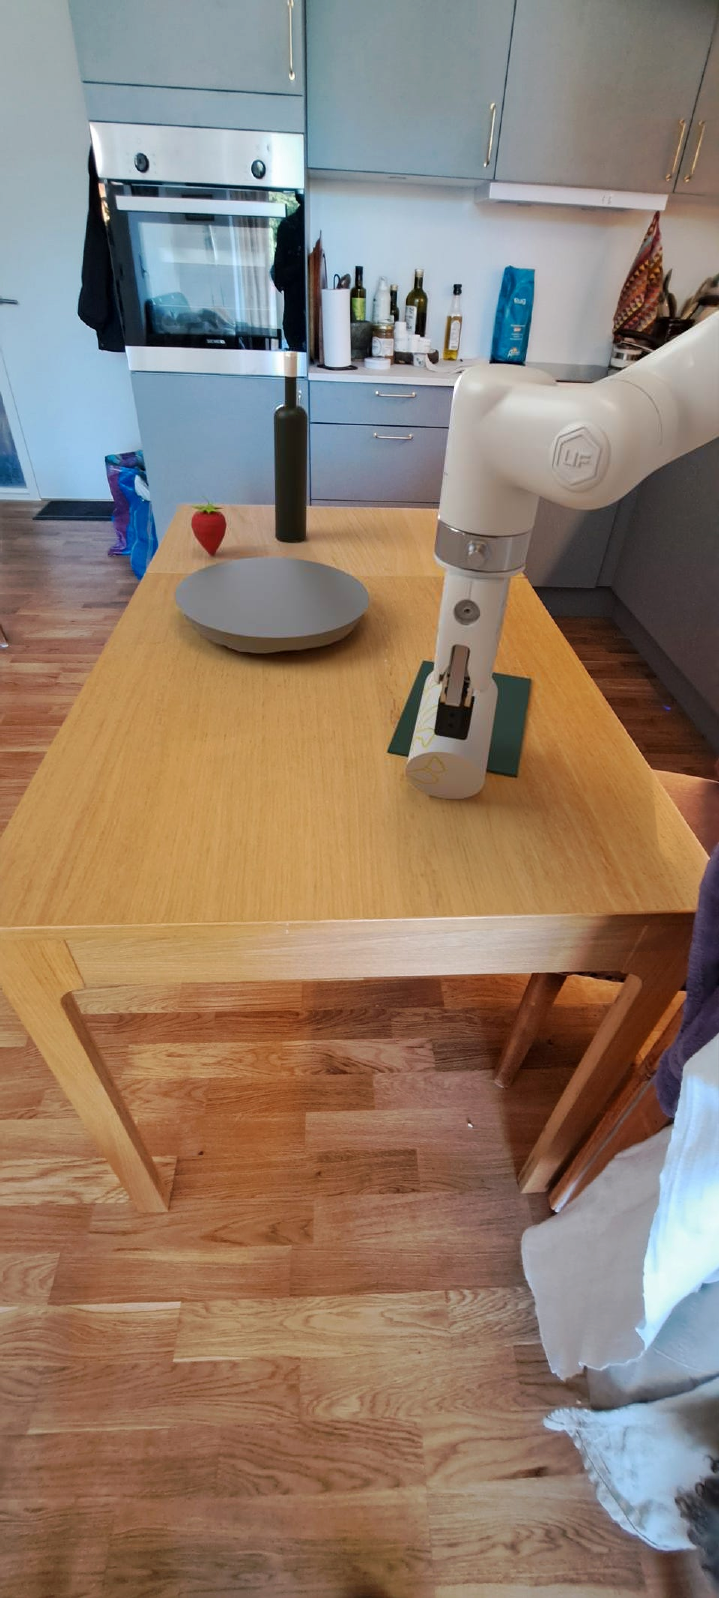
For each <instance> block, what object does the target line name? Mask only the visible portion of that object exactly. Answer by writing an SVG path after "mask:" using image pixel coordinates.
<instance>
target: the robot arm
mask: <svg viewBox="0 0 719 1598" xmlns="http://www.w3.org/2000/svg"><path fill="white" fill-rule="evenodd" d="M450 407H451V408H450V416H449V425H448V432H447V442H446V449H445V457H444V467H443V472H442V473H443V474H442V480H441V481H442V483H441V491H440V499H439V507H438V516H437V524H436V531H435V540H434V550H433V557H432V558H433V560H434V563H435V564H436V565H438V567H440V568H442V569H444V570H445V573H444V578H443V579H444V580H443V587H442V593H441V600H440V607H439V616H438V625H437V633H436V643H435V651H434V661H433V662H434V674H433V679H434V681H435V682H436V683H437V684H438V685H439V684H440V682H441V683H442V682H443V683H442V691H441V693H440V696H439V700H438V707H437V714H436V721H435V728H434V734H435V735H437V736H442V737H448V738H453V739H459V740H466V739H467V737H468V732H469V728H470V723H471V717H472V712H473V706H474V700H475V696H472V695H473V692H474V690H478V691H481V693H483V692H485V691H487V690H488V689H489V686H490V683H491V678H492V674H493V672H494V669H495V665H496V660H497V656H498V650H499V645H500V641H501V635H502V631H503V625H504V619H505V614H506V610H507V604H508V600H509V599H508V598H509V593H510V586H511V578H512V577H515V576H518V575H520V574H521V573H523V572H524V571H525V569H526V565H527V560H528V555H529V551H530V545H531V540H532V536H533V531H534V526H535V522H536V516H537V511H538V506H539V501H540V498H541V497H542V498H544V499H545V500H548V501H550V502H553V503H555V504H557V505H560V506H562V507H563V506H564V507H565V508H569V509H573V510H574V509H575V510H581V511H591V510H598V509H603V508H605V507H608V506H611V505H612V504H614V503H616V502H618V501H619V500H621V499H622V498H623V497H625V496H626V495H627V494H629V492H631V491H632V490H633V489H635V487H636V486H638V485H639V484H640V483H641V482H642V481H644V479H645V478H647V477H649V475H651V474H652V473H653V472H655V471H656V470H658V469H660V468H662V467H663V466H665V465H667V464H669V463H671V462H672V461H674V460H677V459H678V458H680V457H682V456H684V455H686V454H688V453H690V452H691V451H694V450H695V449H697V448H699V447H701V446H703V445H706V444H708V443H709V442H710V441H713V440H715V439H717V438H719V309H718V310H717V311H715V312H713V313H712V314H711V315H709V316H708V317H706V318H705V319H703V320H701V321H700V322H699V323H697V324H695V325H694V326H692V327H691V328H689V329H688V330H686V331H684V332H682V333H681V334H679V335H677V336H676V337H675V338H673V339H671V340H670V341H668V342H666V343H665V344H663V345H662V346H660V347H659V348H657V349H655V350H653V351H652V352H650V353H648V354H647V355H645V356H643V357H642V358H640V359H639V360H637V361H635V362H634V363H631V364H630V365H629V366H627V367H624V368H623V369H621V370H620V371H618V372H616V373H614V374H612V375H609V376H606V377H603V378H601V379H599V380H596V381H595V382H591V383H587V384H582V385H578V386H577V385H576V386H559V385H558V383H557V380H556V379H555V378H554V377H553V375H552V374H550V373H548V372H546V371H544V370H542V369H538V368H535V367H529V366H526V365H525V366H524V365H519V364H508V363H482V364H476V365H473V366H469V367H467V368H466V369H465V370H463V371H462V372H461V373H460V375H459V376H458V377H457V379H456V382H455V384H454V388H453V395H452V400H451V406H450Z"/></svg>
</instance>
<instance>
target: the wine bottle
mask: <svg viewBox="0 0 719 1598" xmlns="http://www.w3.org/2000/svg"><path fill="white" fill-rule="evenodd" d="M283 376H284V404H280V405H279V406H277V407H276V409H275V411H274V413H273V457H274V459H273V460H274V464H273V465H274V528H275V531H274V532H275V533H274V534H275V535H274V536H275V538H276V539H277V540H278V541H280V542H283V543H300V542H301V543H302V542H303V541H305V540H306V539H307V516H308V515H307V511H308V510H307V509H308V508H307V505H308V502H307V501H308V429H309V428H308V427H309V425H308V424H309V423H308V422H309V421H308V419H309V418H308V412H307V411H306V409H305V408H304V407H302V406H301V405H298V404H297V403H298V402H297V395H298V394H297V393H298V392H297V390H298V389H297V388H298V387H297V384H298V383H297V378H298V351H293V350H289V351H288V350H287V351H283Z"/></svg>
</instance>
